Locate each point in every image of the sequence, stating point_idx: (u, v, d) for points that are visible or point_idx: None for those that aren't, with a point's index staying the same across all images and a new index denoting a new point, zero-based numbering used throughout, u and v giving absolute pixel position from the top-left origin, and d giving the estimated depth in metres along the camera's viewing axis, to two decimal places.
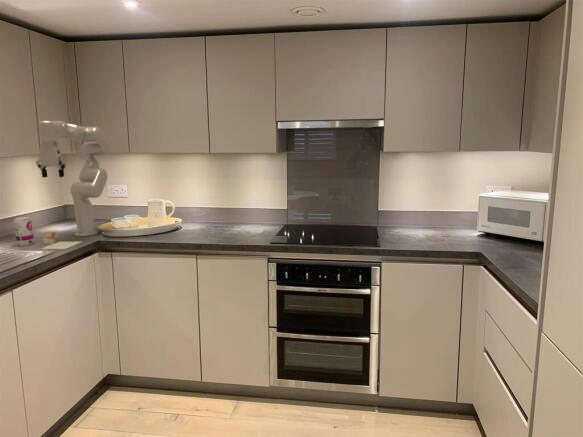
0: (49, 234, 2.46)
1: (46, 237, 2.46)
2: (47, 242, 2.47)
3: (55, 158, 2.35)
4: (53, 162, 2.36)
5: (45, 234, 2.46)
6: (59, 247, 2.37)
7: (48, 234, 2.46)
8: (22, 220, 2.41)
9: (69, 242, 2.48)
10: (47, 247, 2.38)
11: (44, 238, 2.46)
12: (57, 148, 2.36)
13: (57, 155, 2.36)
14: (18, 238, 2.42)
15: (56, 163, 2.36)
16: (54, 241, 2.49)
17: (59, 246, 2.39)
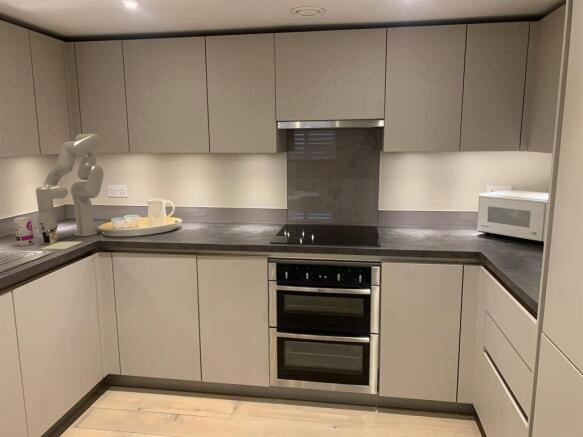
0: (49, 234, 2.46)
1: None
2: None
3: (56, 220, 2.51)
4: (55, 224, 2.50)
5: None
6: (59, 247, 2.37)
7: (48, 234, 2.46)
8: (22, 220, 2.41)
9: (69, 242, 2.48)
10: (47, 247, 2.38)
11: None
12: None
13: None
14: (18, 238, 2.42)
15: (56, 225, 2.51)
16: (54, 241, 2.49)
17: (59, 246, 2.39)
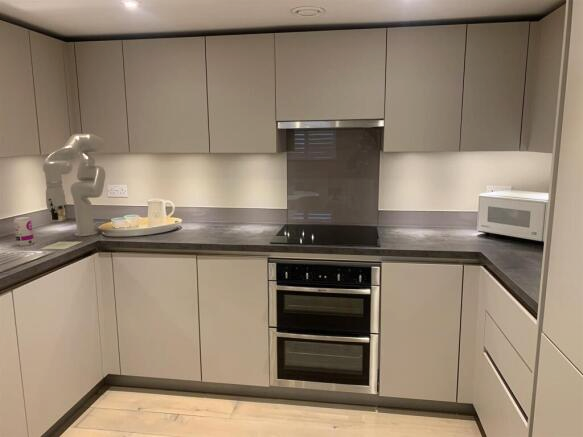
0: (57, 211, 2.36)
1: None
2: None
3: (64, 197, 2.41)
4: (63, 201, 2.40)
5: None
6: (59, 247, 2.37)
7: None
8: (22, 220, 2.41)
9: (69, 242, 2.48)
10: (47, 247, 2.38)
11: None
12: None
13: None
14: (18, 238, 2.42)
15: (65, 202, 2.42)
16: (62, 218, 2.39)
17: (59, 246, 2.39)
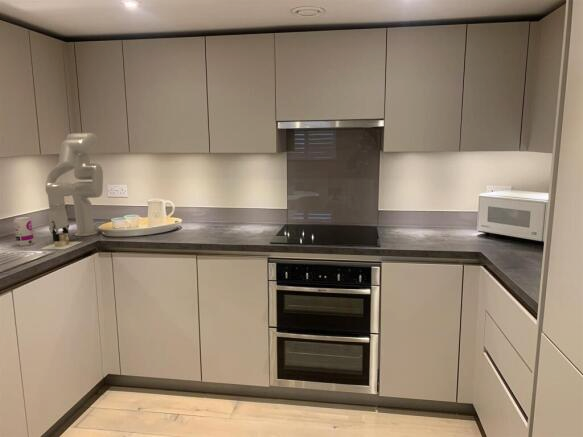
0: (61, 236, 2.38)
1: None
2: (59, 244, 2.39)
3: (67, 219, 2.43)
4: (66, 223, 2.42)
5: None
6: (59, 247, 2.37)
7: (60, 236, 2.38)
8: (22, 220, 2.41)
9: (69, 242, 2.48)
10: (47, 247, 2.38)
11: None
12: None
13: None
14: (18, 238, 2.42)
15: (67, 223, 2.44)
16: (66, 243, 2.42)
17: (59, 246, 2.39)
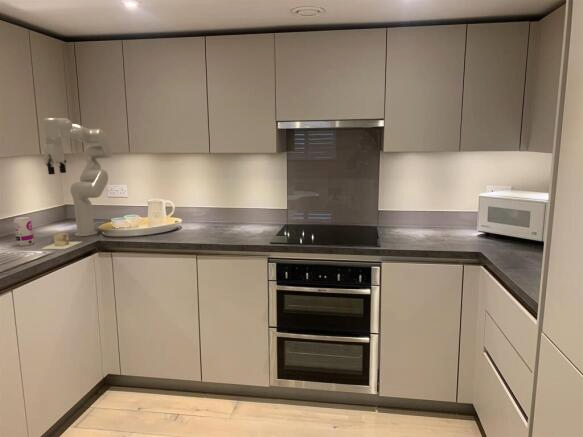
0: (61, 236, 2.38)
1: (58, 239, 2.39)
2: (59, 244, 2.39)
3: (63, 154, 2.45)
4: (62, 158, 2.44)
5: (57, 236, 2.39)
6: (59, 247, 2.37)
7: (60, 236, 2.38)
8: (22, 220, 2.41)
9: (69, 242, 2.48)
10: (47, 247, 2.38)
11: (55, 240, 2.39)
12: None
13: None
14: (18, 238, 2.42)
15: (64, 159, 2.46)
16: (66, 243, 2.42)
17: (59, 246, 2.39)
